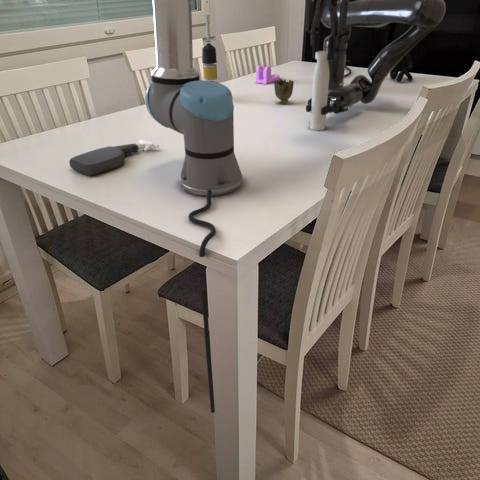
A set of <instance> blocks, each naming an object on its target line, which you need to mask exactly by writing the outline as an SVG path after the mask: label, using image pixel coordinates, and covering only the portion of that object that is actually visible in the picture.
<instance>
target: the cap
mask: <svg viewBox="0 0 480 480" xmlns="http://www.w3.org/2000/svg"><path fill="white" fill-rule="evenodd" d="M327 56H328V51H323V50H319V51H317V52H316V53H315V59H314V60H316V61H317V60H327Z"/></svg>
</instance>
